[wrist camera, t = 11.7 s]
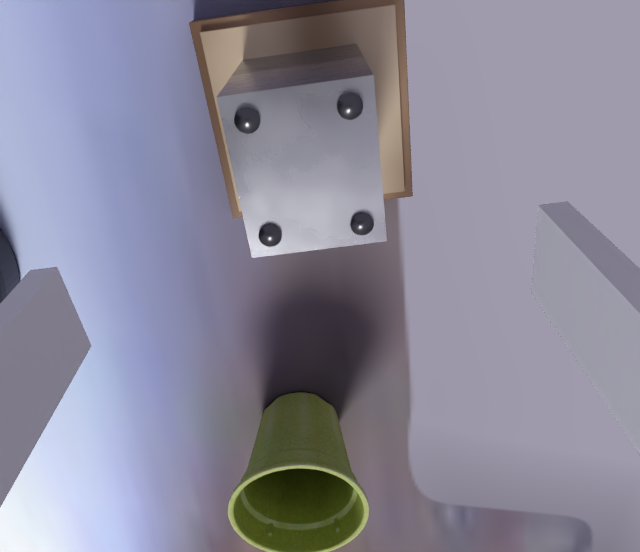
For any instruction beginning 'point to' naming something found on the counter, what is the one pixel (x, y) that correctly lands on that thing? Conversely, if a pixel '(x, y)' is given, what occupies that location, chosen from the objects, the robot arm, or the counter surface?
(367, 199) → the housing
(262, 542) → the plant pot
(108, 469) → the counter surface
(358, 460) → the counter surface
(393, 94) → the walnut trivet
